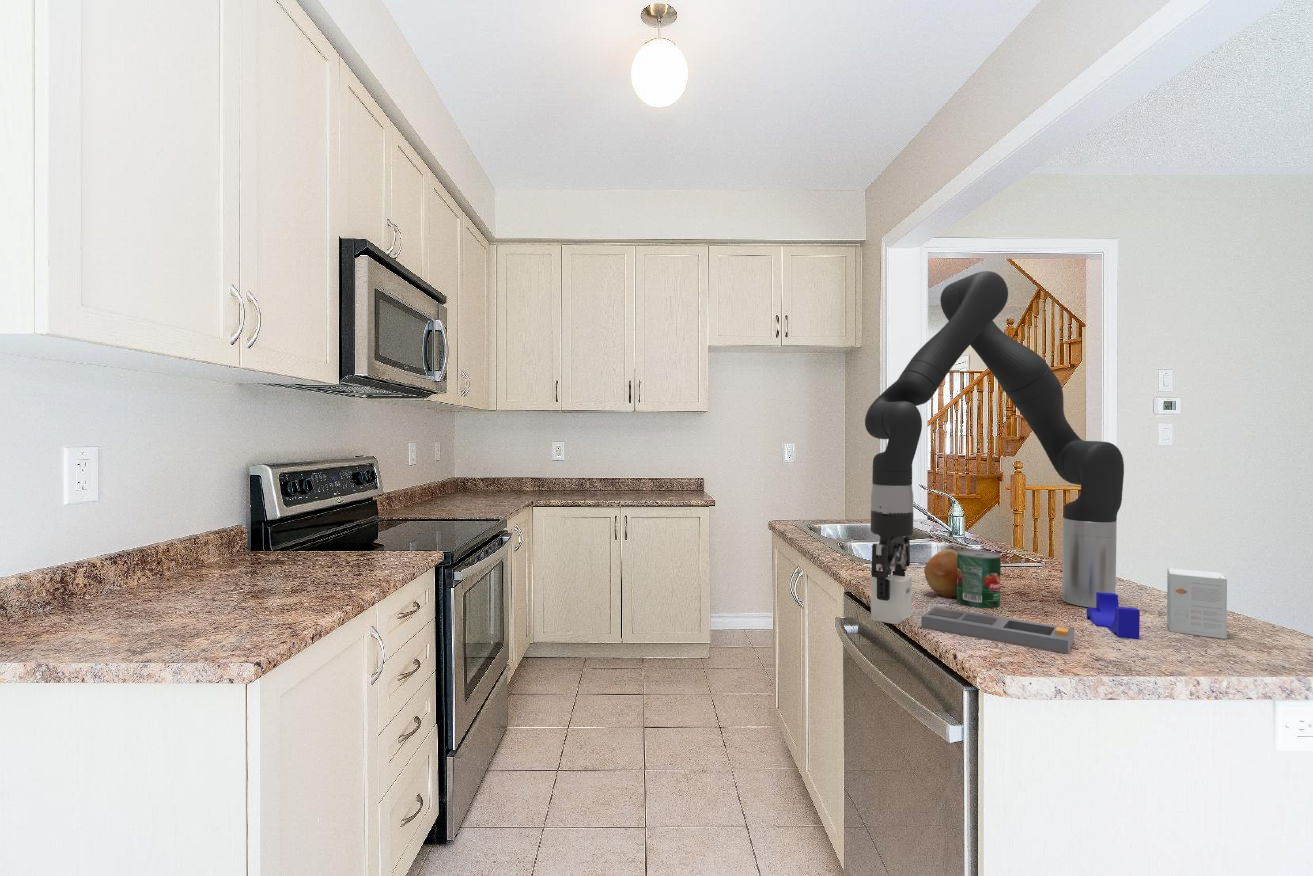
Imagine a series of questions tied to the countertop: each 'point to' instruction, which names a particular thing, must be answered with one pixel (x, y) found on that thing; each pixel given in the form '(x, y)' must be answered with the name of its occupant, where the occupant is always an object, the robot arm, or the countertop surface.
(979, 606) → the canned tomato
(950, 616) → the power strip
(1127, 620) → the cable clip
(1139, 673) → the countertop surface
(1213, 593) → the small box
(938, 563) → the onion
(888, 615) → the block
